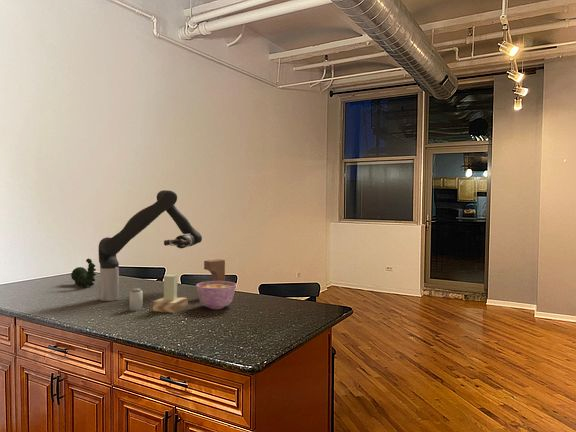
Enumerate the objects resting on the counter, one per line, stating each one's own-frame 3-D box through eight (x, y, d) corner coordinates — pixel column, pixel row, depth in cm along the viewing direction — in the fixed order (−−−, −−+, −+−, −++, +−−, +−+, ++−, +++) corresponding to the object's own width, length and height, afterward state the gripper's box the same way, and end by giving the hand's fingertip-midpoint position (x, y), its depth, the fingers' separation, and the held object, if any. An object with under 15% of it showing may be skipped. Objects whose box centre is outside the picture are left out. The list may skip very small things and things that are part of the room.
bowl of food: (220, 300, 230) (220, 279, 230) (244, 307, 216) (244, 284, 216) (188, 306, 216) (188, 284, 216) (210, 314, 202) (210, 290, 202)
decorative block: (209, 297, 238) (209, 261, 238) (203, 296, 242) (203, 260, 242) (225, 294, 246) (225, 260, 246) (219, 293, 250) (219, 259, 249)
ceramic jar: (127, 310, 207) (127, 290, 207) (133, 307, 213) (133, 287, 213) (139, 311, 206) (139, 290, 206) (144, 308, 212) (144, 288, 212)
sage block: (163, 300, 209) (164, 276, 209) (166, 298, 214) (167, 274, 214) (173, 300, 209) (174, 276, 209) (176, 298, 214) (177, 274, 214)
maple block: (153, 311, 208) (153, 301, 207) (166, 306, 219) (166, 296, 219) (175, 313, 204) (175, 303, 204) (187, 307, 216) (187, 298, 216)
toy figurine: (99, 289, 264) (81, 281, 280) (100, 259, 262) (82, 252, 278) (83, 292, 257) (66, 283, 273) (85, 261, 255) (67, 253, 271)
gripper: (171, 234, 251) (160, 236, 235) (195, 235, 249) (185, 237, 233) (171, 247, 251) (160, 250, 235) (195, 248, 249) (185, 251, 233)
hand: (172, 243), depth 234 cm, fingers open, 8 cm apart
